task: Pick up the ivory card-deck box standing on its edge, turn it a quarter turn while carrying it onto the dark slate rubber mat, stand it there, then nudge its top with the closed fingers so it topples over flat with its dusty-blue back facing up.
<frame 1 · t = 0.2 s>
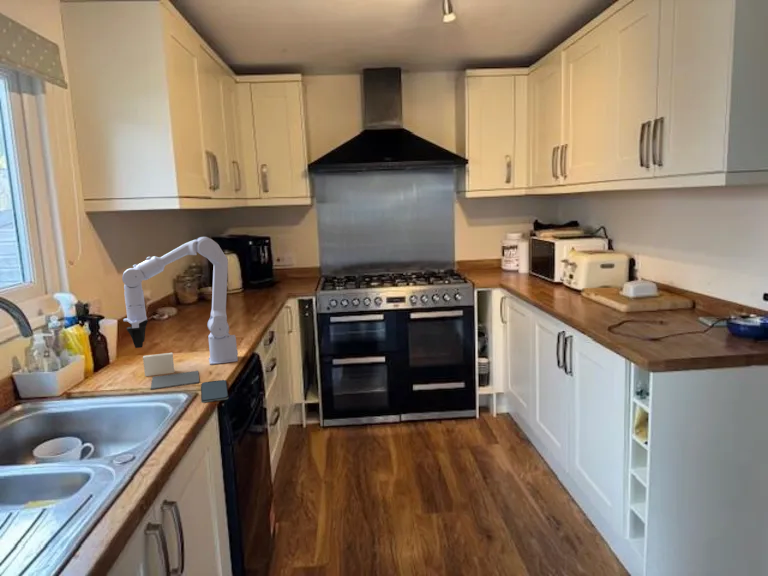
hand: (139, 344, 179), 10 cm above the worktop, fingers open, 7 cm apart
mat: (175, 380, 171), on the worktop
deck: (159, 373, 178), on the worktop
smartphone: (214, 394, 159), on the worktop
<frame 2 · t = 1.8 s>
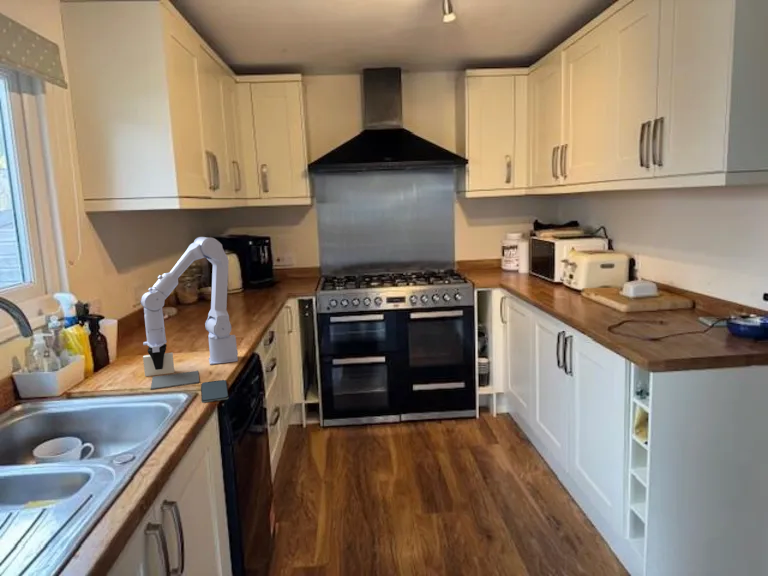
hand: (159, 367, 178), 2 cm above the worktop, fingers closed on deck, 2 cm apart
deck: (159, 373, 178), on the worktop, touching gripper
everything else where it was.
when the fingers open (3 cm above the worktop, at t = 5.0 s): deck stays where it is, resting on mat.
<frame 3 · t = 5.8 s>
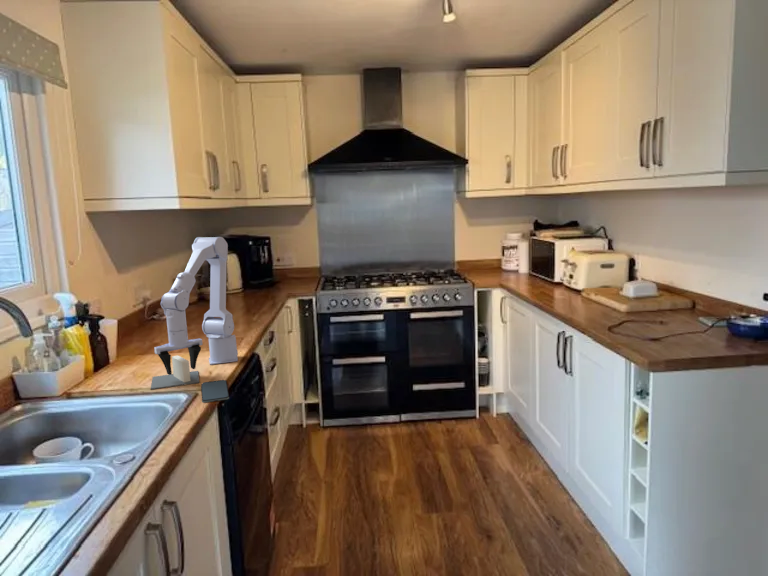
hand: (181, 371, 171), 3 cm above the worktop, fingers open, 7 cm apart
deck: (182, 378, 171), resting on mat
everything else where it was.
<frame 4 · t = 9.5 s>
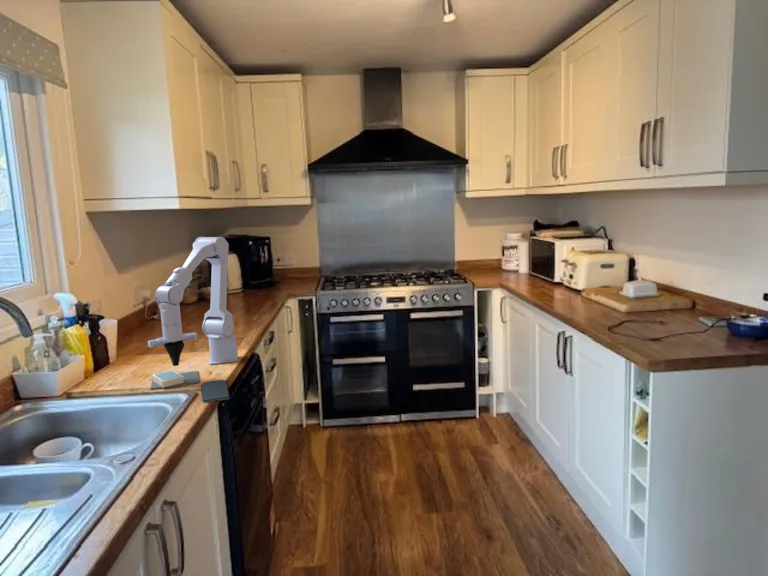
hand: (175, 365, 170), 5 cm above the worktop, fingers closed
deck: (178, 376, 170), point 1 cm above the worktop, tilted 90°, touching mat
everything else where it was.
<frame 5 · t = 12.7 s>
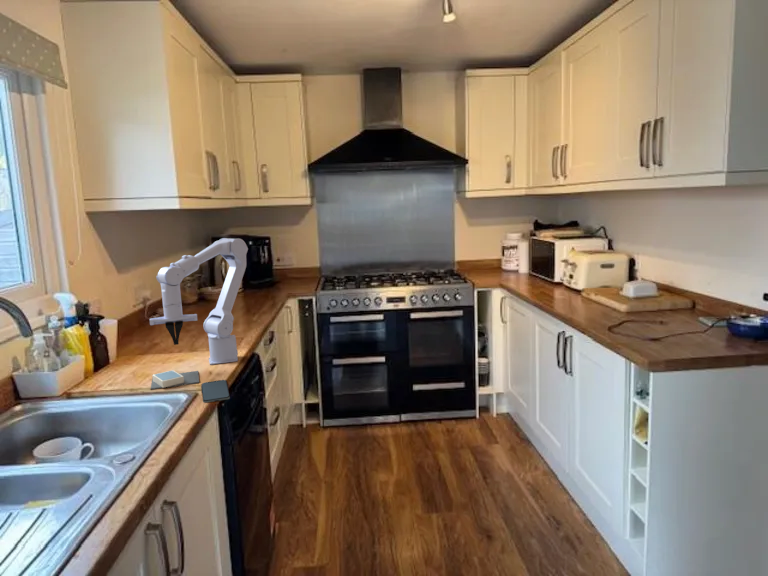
hand: (176, 343, 177), 10 cm above the worktop, fingers closed
nothing on the worktop moved.
at the end: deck tilted 90°; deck inside the target area on the mat (1.1 cm from its centre), point 1.4 cm above the mat's base; the gripper is holding nothing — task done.
